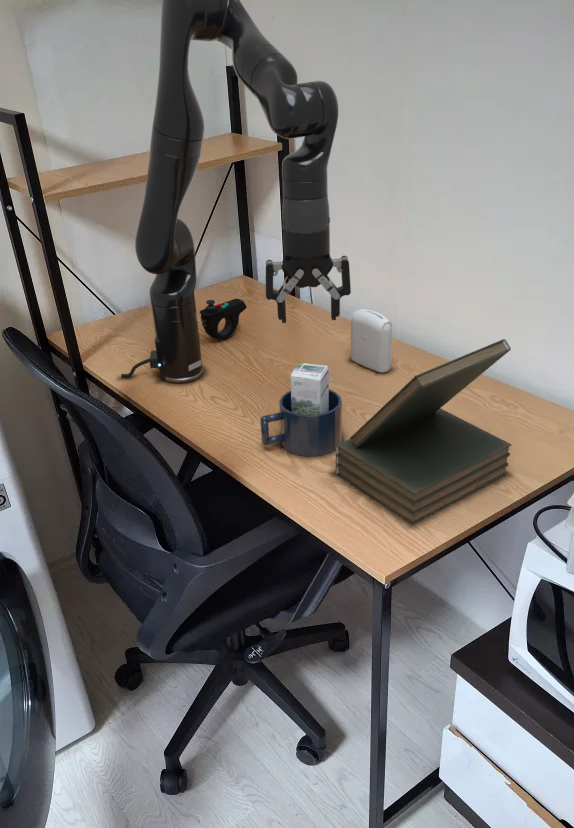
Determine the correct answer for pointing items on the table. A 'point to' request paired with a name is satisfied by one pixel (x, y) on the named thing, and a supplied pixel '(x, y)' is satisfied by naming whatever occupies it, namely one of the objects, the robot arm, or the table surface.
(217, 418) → the table surface
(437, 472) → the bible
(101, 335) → the table surface
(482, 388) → the table surface
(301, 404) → the syrup box
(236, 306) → the controller
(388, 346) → the photo printer
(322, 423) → the mug
